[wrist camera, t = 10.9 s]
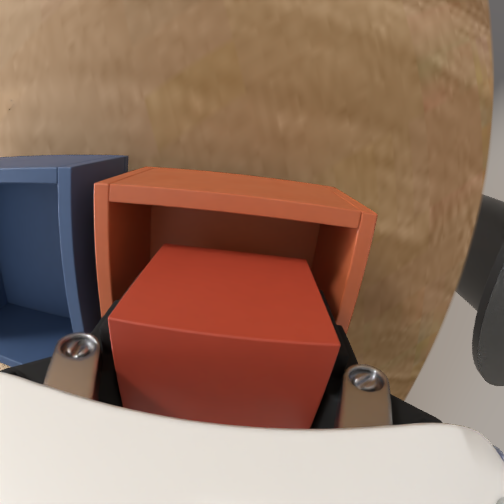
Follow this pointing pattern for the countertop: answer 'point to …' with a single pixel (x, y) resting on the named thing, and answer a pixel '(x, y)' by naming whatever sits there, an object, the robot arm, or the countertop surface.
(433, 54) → the countertop surface
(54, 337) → the blue bin
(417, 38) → the countertop surface
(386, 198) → the countertop surface
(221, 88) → the countertop surface
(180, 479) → the robot arm
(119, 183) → the orange bin
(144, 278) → the red block
